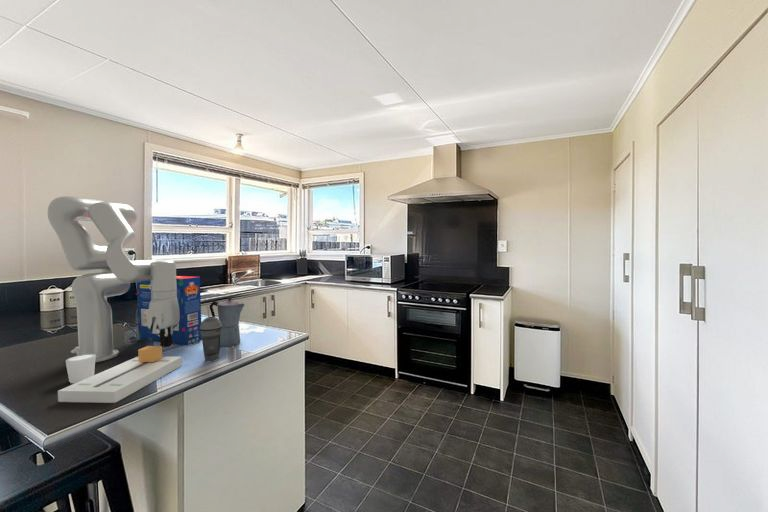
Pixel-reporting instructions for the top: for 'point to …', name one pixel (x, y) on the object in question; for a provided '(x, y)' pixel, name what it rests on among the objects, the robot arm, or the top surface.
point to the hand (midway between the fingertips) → (166, 346)
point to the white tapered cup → (80, 367)
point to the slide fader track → (118, 381)
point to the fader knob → (150, 353)
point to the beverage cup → (211, 337)
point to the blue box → (188, 311)
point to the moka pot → (228, 320)
